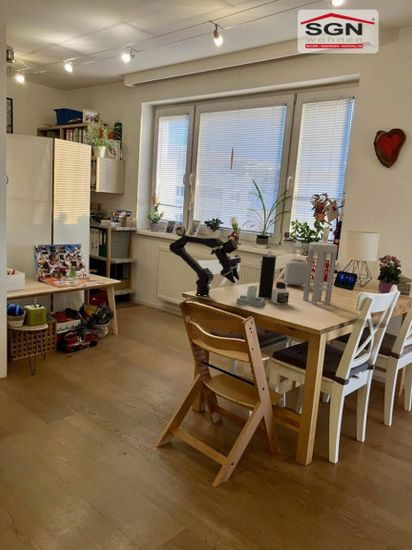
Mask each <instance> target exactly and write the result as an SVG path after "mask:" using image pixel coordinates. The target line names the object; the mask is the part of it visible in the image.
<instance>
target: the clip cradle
mask: <svg viewBox="0 0 412 550" xmlns="http://www.w3.org/2000/svg"><path fill="white" fill-rule="evenodd" d="M265 301H266V298H263V297H258V296H256V300H248V299H247V295H243V294H240V296H239V297H238V298H236V304H240V303H242V304H241V305H247V304H249V306H254V305H255V306H256V307H261V306H262V307H263V306H264V304H265V303H266V302H265ZM264 302H265V303H264Z"/></svg>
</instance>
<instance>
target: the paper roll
mask: <svg viewBox="0 0 412 550" xmlns="http://www.w3.org/2000/svg"><path fill="white" fill-rule="evenodd" d="M257 289H258V286H257V285H255V284H254V285H253V284H248V285H247V291H246V293H247V294H246V296H247V299H248V300H256V297H257V292H258V291H257Z"/></svg>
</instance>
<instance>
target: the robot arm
mask: <svg viewBox="0 0 412 550" xmlns="http://www.w3.org/2000/svg"><path fill="white" fill-rule="evenodd" d="M188 243H192V244H199V245H203V246H205V247H208V248H211V252H210V255H211V256H212V255H215V257H216V259H217V260H218V263H219V265H221V267H222V269H221V270H220V273H219V274H220V275H221V276H222V277H223V278H225V279H227V281H228V280H229V281H230V282H231V283H233V284H236V280H237V281H239V280H240V276H239V273H238V267H239V264H241V263H242V258H241V256H240V255H238V254H236V255H234V257H231V256H230V254H231V253H233V252H235V251H237V250H238V248H239V246H238V244H237V243H236V242H235V241H234V240H233V239H232V238H229V239H228V240H227V241H225V242H224V241H223V240H221V238H220V237H217V236H214V237H202V236H195V235H189V234H183V235H182V236H181V237H180V238H178V239H176V240H175V241H174V242H171V243H170V244H169V251H170V252H171V253H173V254H174V255H176V256H177V257H179V258H181V260H183V261H184V262H185V263H186V264H187V265H188V266H189V267H190V268H191V270H193V271H194V272H195V273H196V275H197V278H198V279H196V281H195V285H196V294H200V295H208V296H210V290H211V289H210V284H211V283H212V281H214V274H213V271H211V270H210V269H209V268H208V267H206V268H204V267H202V266H201V265H200V264H199V263H198V262H197V261H196V260H195V258H193V256H191V255H190V253H188V252H187V249H186V247H185V246H186V245H187V244H188ZM228 254H229V255H228Z"/></svg>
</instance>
